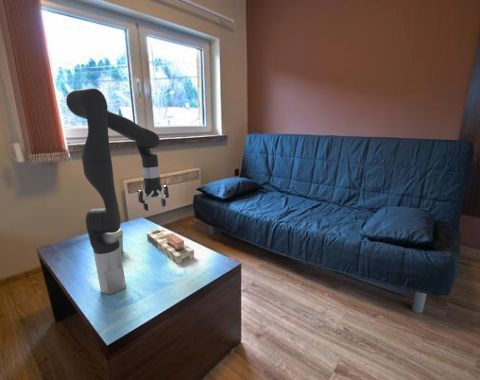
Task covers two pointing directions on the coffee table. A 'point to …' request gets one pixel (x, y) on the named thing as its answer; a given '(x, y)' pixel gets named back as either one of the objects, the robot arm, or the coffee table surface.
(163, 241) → the rail
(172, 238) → the pinkish brown rectangular block
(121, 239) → the coffee cup
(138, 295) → the coffee table surface
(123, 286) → the robot arm
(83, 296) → the coffee table surface
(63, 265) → the coffee table surface
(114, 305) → the coffee table surface
